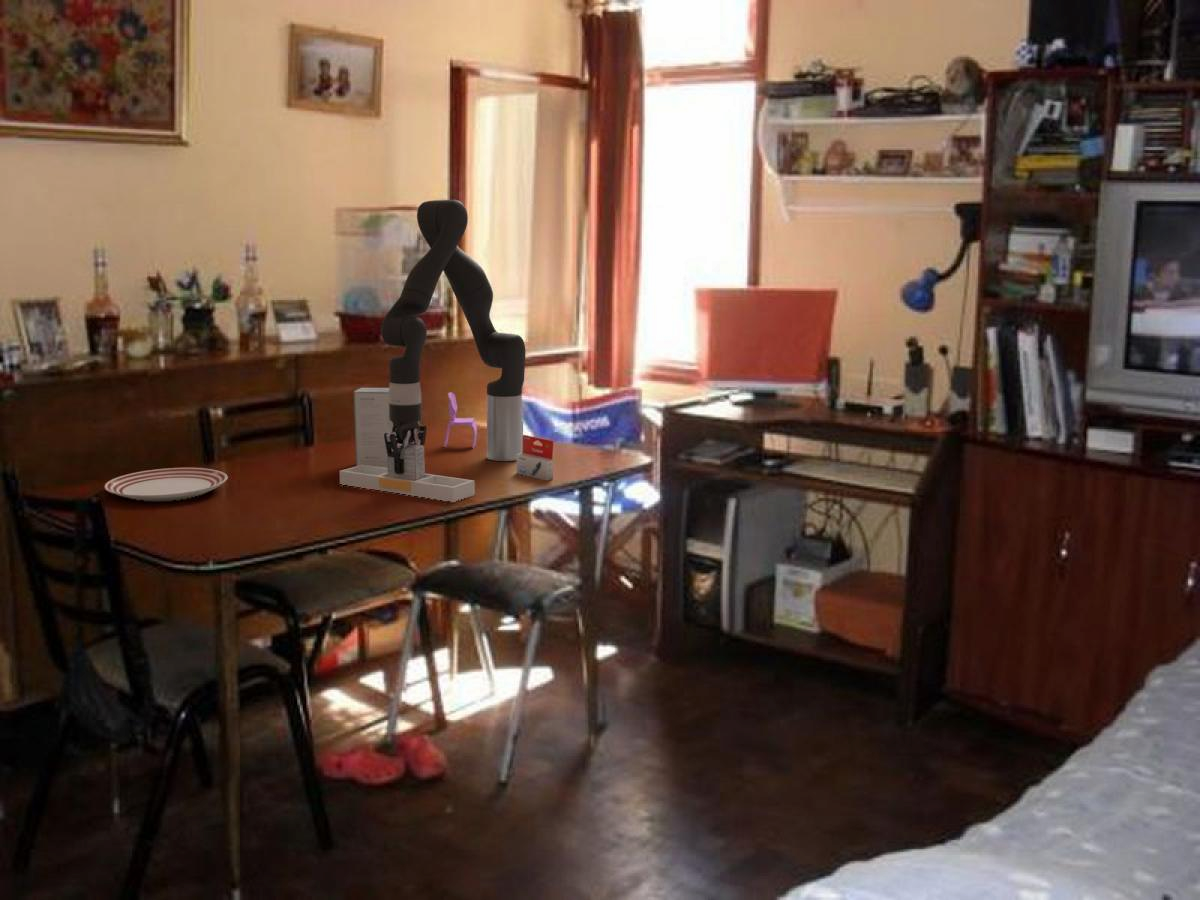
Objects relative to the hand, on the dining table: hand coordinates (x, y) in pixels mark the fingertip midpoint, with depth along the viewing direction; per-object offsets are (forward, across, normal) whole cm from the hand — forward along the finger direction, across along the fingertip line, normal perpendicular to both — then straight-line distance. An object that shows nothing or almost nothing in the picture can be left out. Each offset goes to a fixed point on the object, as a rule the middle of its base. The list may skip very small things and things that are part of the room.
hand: (406, 471), depth 318 cm
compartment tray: (+5, 0, 0) cm, 5 cm away
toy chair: (+5, +50, +19) cm, 54 cm away
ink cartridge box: (+5, +29, -18) cm, 34 cm away
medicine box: (+3, 0, 0) cm, 3 cm away
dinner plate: (+5, -31, +46) cm, 56 cm away
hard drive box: (+5, +19, +20) cm, 28 cm away
